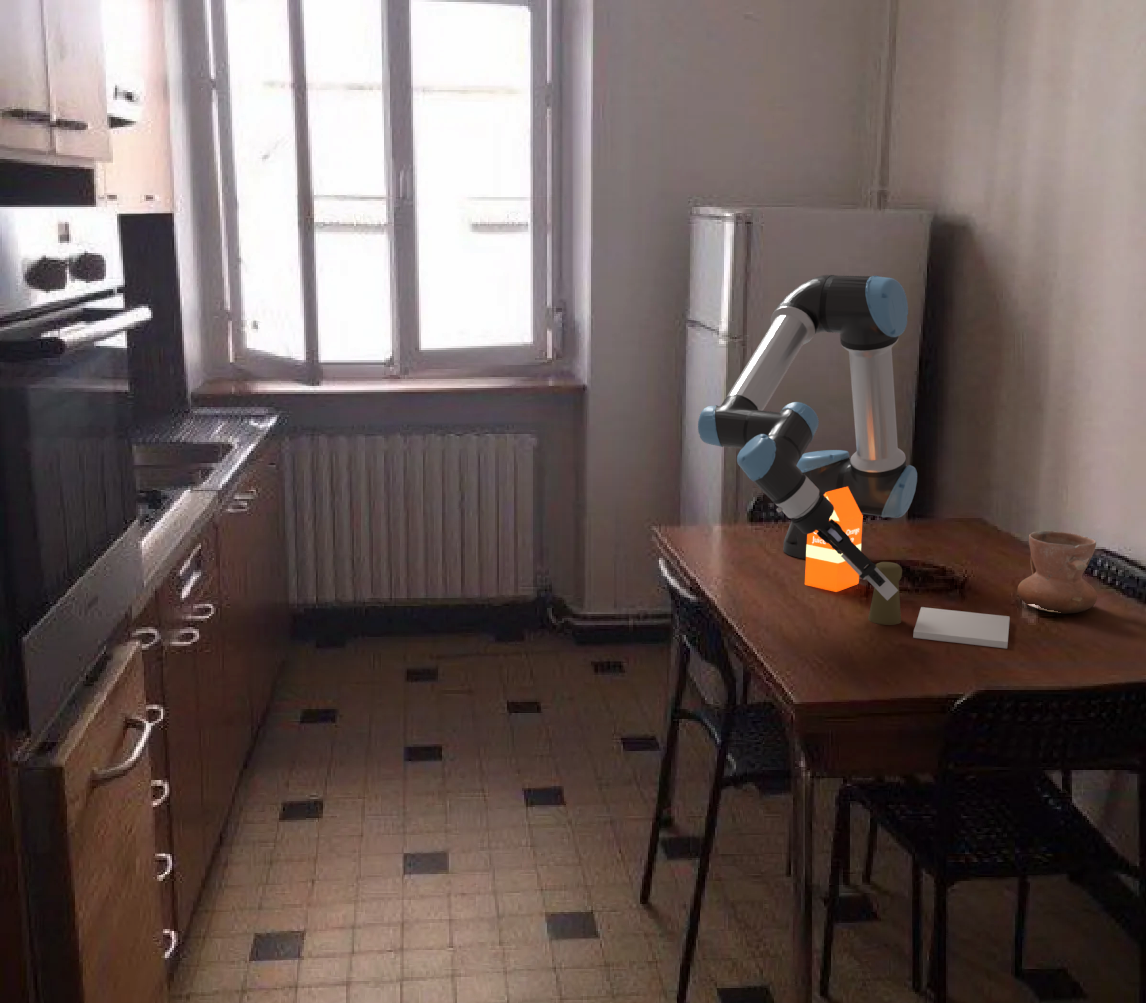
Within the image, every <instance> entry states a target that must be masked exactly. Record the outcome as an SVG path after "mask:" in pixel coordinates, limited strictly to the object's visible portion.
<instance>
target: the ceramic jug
mask: <svg viewBox="0 0 1146 1003" xmlns="http://www.w3.org/2000/svg"><path fill="white" fill-rule="evenodd" d="M1028 543H1029V544H1028V545H1029V549H1030V550H1029V552H1030V569H1031V575H1029V576H1028V577H1026V578H1024V579H1023V580H1021V581H1020V582H1019V584H1018V585H1017V595H1018V597H1019V599H1020V600H1021V601H1022V602H1023V603H1024V604H1026V605H1027V604H1035V605H1039V606H1040V607H1041V608H1044V609H1047V610H1054V611H1058V612H1061V613H1064V614H1066V615H1067V614H1069V615H1070V614H1077V613H1081V612H1085V611H1087V610H1089V609H1092V607H1094V605H1095V604H1096V603H1097V600H1098V593H1097V591H1096V589H1095V588H1094V587H1093V586H1092V585H1091V584H1090V583H1088V582H1087V581H1086V580H1085V579H1084V578H1083V577H1082V576H1083V574H1084V572H1085V571H1086V569H1087V568H1088V565H1089V564H1090V561H1091V559H1092V557H1093V555H1094V552H1095V550H1096V546H1097V540H1095V539H1094V538H1090V537H1087V536H1084V535H1080V534H1075V533H1070V532H1065V531H1054V530H1041V531H1032V532H1031V533H1030V534H1029V535H1028Z"/></svg>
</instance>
